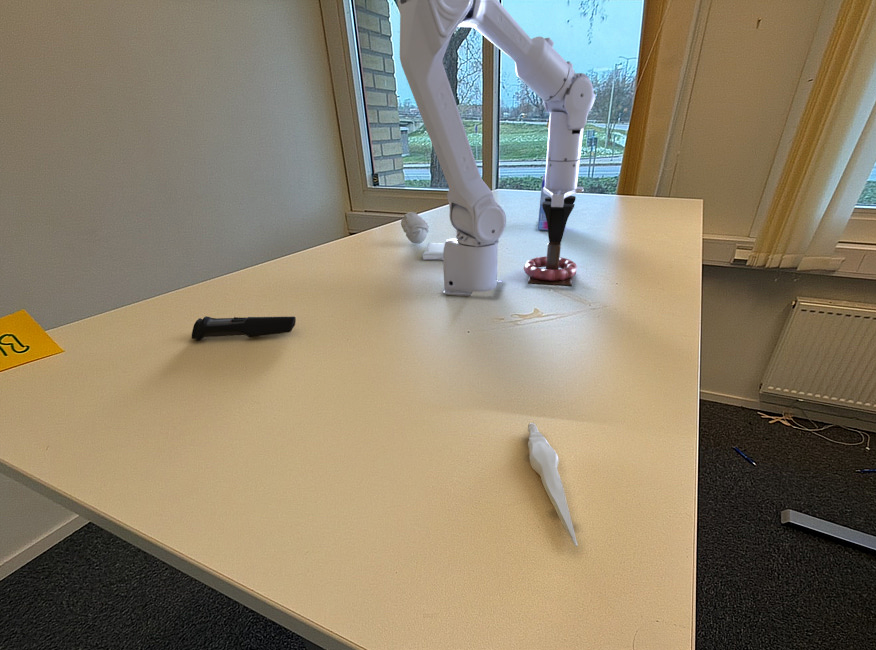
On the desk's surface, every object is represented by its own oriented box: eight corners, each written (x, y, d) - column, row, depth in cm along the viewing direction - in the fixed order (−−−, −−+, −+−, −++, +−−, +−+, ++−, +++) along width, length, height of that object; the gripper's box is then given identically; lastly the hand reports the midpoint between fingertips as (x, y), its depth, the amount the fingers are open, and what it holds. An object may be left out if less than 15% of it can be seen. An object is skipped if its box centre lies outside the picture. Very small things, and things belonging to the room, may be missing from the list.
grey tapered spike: (518, 434, 46) (518, 420, 45) (542, 432, 47) (543, 418, 46) (558, 555, 34) (561, 540, 33) (591, 551, 34) (595, 536, 33)
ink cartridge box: (558, 231, 114) (564, 169, 106) (537, 230, 115) (541, 169, 107) (558, 222, 122) (564, 163, 114) (538, 221, 123) (542, 163, 115)
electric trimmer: (295, 340, 66) (290, 321, 64) (191, 342, 66) (183, 322, 64) (302, 329, 69) (298, 311, 67) (203, 331, 69) (196, 312, 67)
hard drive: (422, 252, 95) (479, 253, 94) (428, 242, 102) (481, 242, 101) (423, 260, 96) (479, 260, 95) (428, 249, 103) (481, 249, 102)
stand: (527, 286, 82) (530, 248, 78) (532, 272, 88) (534, 237, 84) (571, 289, 80) (575, 251, 76) (572, 275, 87) (577, 238, 83)
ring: (519, 279, 82) (519, 269, 81) (529, 263, 90) (529, 253, 89) (573, 284, 80) (574, 273, 78) (578, 267, 87) (580, 257, 86)
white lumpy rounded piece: (414, 238, 111) (411, 208, 107) (435, 242, 107) (433, 211, 103) (397, 243, 107) (394, 213, 103) (419, 248, 103) (416, 216, 99)
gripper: (586, 165, 69) (575, 252, 77) (587, 154, 81) (578, 231, 89) (541, 164, 71) (535, 250, 78) (548, 154, 82) (543, 229, 90)
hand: (555, 240), depth 84 cm, fingers open, 3 cm apart
